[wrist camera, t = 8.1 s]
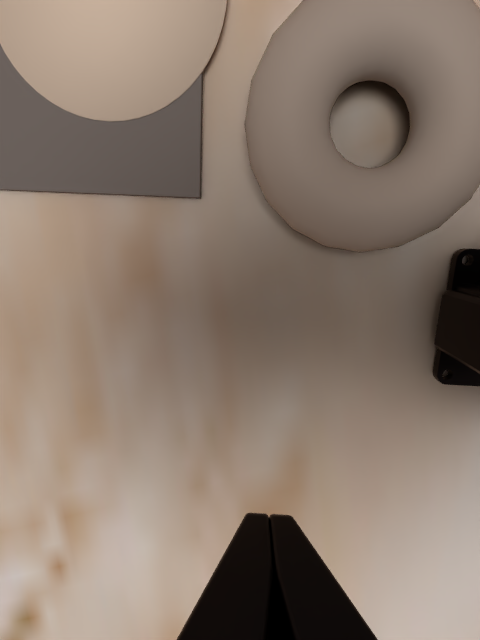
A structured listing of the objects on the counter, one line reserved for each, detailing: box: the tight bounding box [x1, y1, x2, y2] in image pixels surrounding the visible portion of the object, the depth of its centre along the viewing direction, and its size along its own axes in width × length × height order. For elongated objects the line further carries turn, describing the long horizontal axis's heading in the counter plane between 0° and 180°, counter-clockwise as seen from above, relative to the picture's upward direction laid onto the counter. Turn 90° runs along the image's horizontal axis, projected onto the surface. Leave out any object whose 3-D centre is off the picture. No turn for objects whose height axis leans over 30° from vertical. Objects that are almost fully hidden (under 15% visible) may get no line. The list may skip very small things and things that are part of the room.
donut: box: [245, 0, 480, 252], centre depth 15 cm, size 10×3×10 cm
